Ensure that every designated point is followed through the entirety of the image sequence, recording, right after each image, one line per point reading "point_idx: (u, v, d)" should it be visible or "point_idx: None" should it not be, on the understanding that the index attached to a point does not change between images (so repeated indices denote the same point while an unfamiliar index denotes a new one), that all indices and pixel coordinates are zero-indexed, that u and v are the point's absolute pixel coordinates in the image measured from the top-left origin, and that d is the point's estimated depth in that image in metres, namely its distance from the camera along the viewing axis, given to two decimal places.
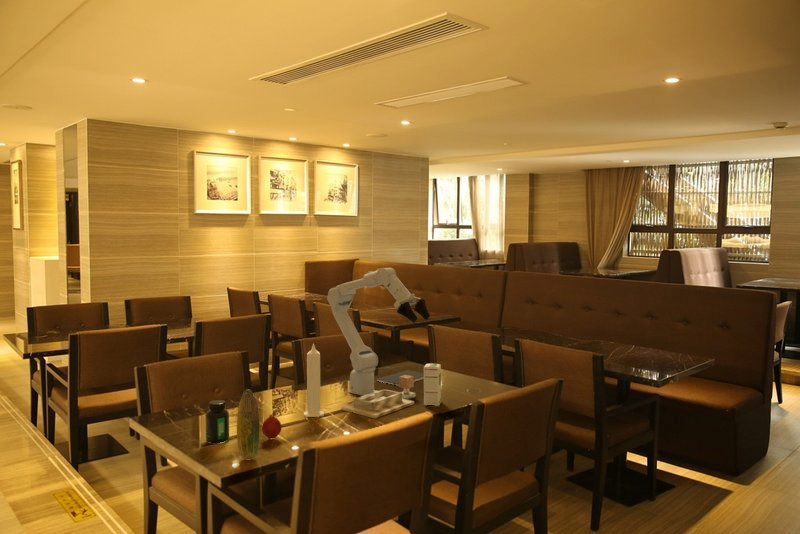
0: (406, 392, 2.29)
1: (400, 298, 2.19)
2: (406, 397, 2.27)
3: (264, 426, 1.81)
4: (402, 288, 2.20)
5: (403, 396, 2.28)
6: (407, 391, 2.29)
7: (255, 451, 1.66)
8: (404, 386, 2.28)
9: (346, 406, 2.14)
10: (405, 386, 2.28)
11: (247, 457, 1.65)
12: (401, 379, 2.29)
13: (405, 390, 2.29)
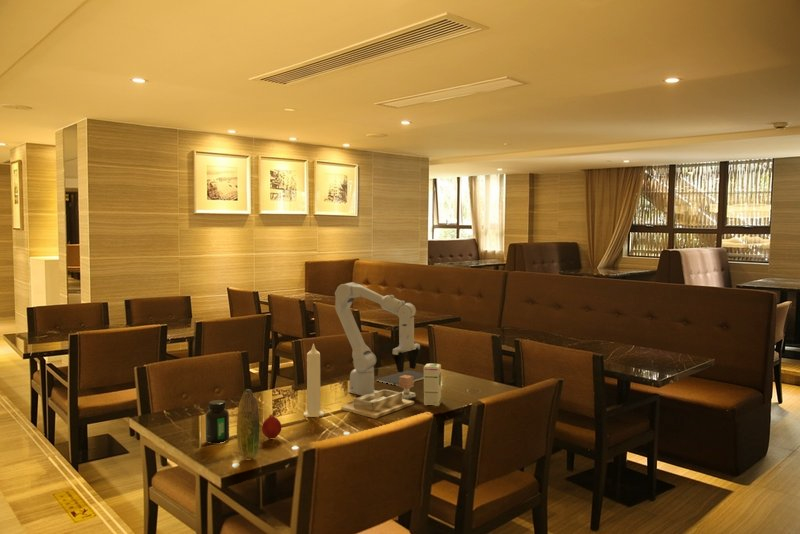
0: (406, 392, 2.29)
1: (402, 343, 2.27)
2: (406, 397, 2.27)
3: (264, 426, 1.81)
4: (410, 336, 2.26)
5: (403, 396, 2.28)
6: (407, 391, 2.29)
7: (255, 451, 1.66)
8: (404, 386, 2.28)
9: (346, 406, 2.14)
10: (405, 386, 2.28)
11: (247, 457, 1.65)
12: (401, 379, 2.29)
13: (405, 390, 2.29)
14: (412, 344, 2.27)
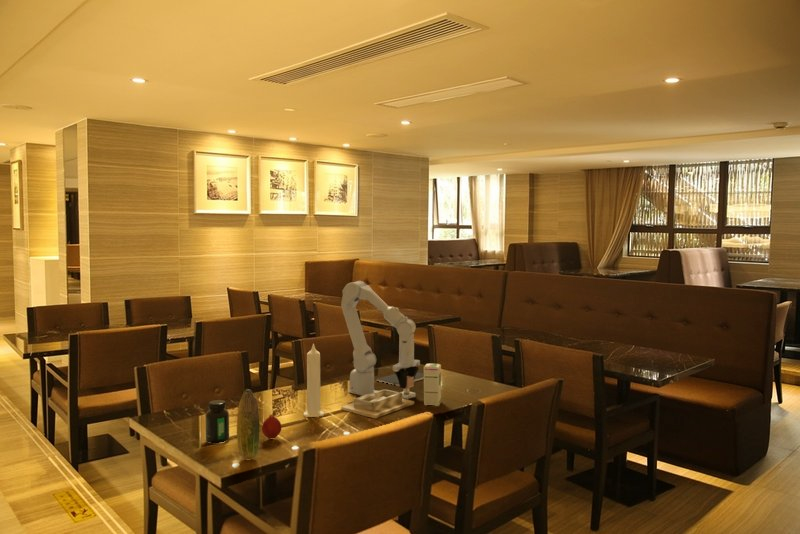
0: (406, 392, 2.29)
1: (402, 360, 2.27)
2: (406, 397, 2.27)
3: (264, 426, 1.81)
4: (410, 353, 2.27)
5: (403, 396, 2.28)
6: (407, 391, 2.29)
7: (255, 451, 1.66)
8: None
9: (346, 406, 2.14)
10: None
11: (247, 457, 1.65)
12: None
13: (405, 390, 2.29)
14: (412, 361, 2.28)
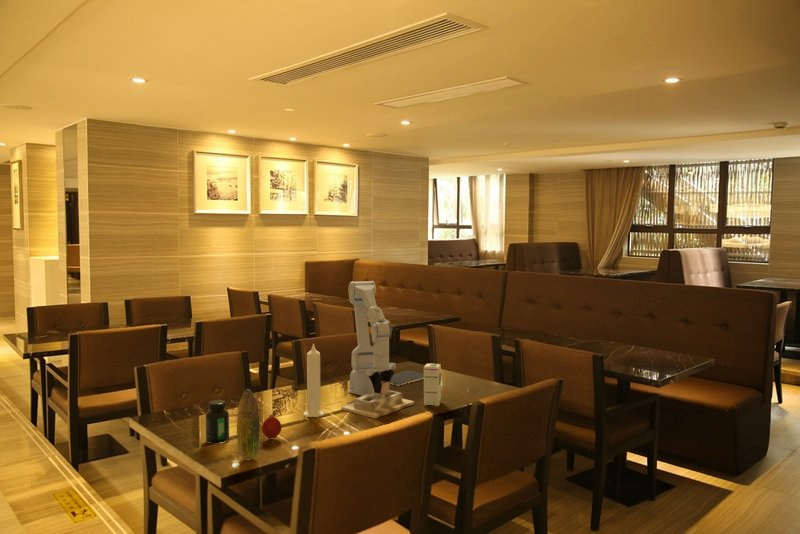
0: None
1: (376, 364, 2.15)
2: None
3: (264, 426, 1.81)
4: (384, 356, 2.15)
5: None
6: None
7: (255, 451, 1.66)
8: None
9: (346, 406, 2.14)
10: (380, 392, 2.16)
11: (247, 457, 1.65)
12: None
13: (380, 396, 2.17)
14: (387, 364, 2.16)
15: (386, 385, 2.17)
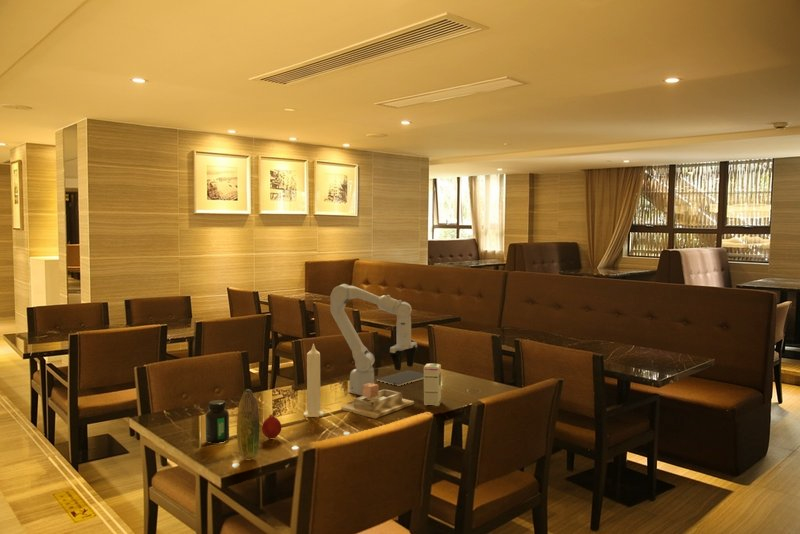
0: None
1: (399, 342, 2.30)
2: None
3: (264, 426, 1.81)
4: (407, 335, 2.30)
5: None
6: None
7: (255, 451, 1.66)
8: (368, 395, 2.12)
9: (346, 406, 2.14)
10: (369, 395, 2.11)
11: (247, 457, 1.65)
12: (365, 388, 2.12)
13: (369, 399, 2.12)
14: (409, 342, 2.31)
15: (375, 388, 2.12)
